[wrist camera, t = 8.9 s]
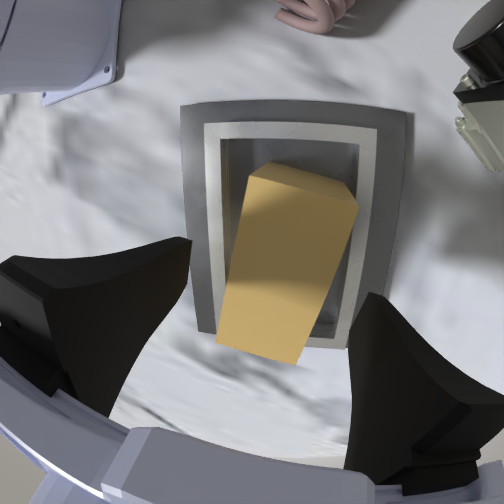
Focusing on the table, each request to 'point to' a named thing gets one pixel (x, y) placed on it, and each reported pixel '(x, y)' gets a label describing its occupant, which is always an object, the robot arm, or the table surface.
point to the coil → (313, 14)
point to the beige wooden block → (284, 260)
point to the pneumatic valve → (483, 84)
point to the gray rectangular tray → (304, 158)
